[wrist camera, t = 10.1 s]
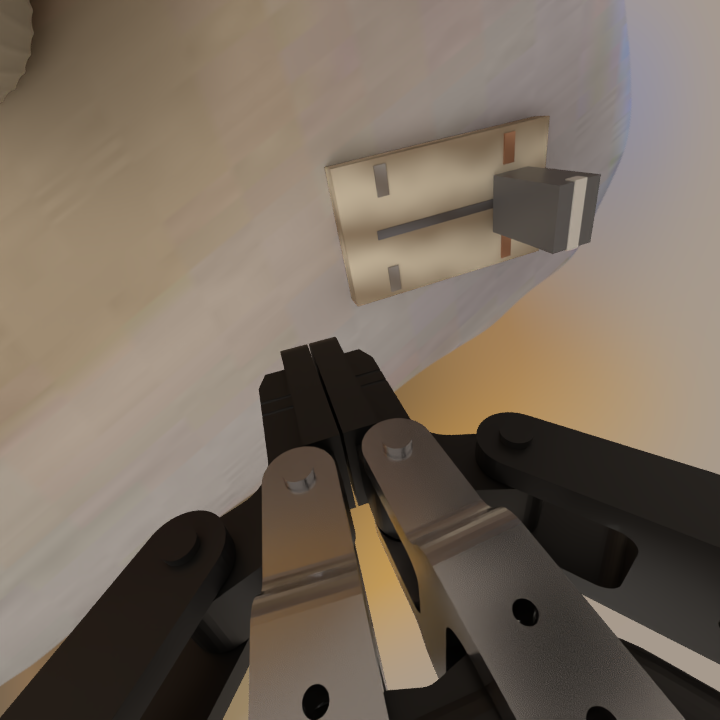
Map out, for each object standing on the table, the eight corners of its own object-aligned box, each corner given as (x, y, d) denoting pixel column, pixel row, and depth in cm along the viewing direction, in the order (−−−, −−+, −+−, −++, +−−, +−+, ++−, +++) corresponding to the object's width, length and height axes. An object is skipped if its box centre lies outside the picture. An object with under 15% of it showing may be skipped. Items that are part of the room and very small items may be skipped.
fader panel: (324, 167, 32) (330, 169, 30) (533, 116, 35) (551, 115, 33) (351, 299, 38) (358, 307, 36) (525, 245, 42) (539, 251, 40)
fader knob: (493, 174, 34) (561, 184, 27) (527, 165, 34) (602, 173, 28) (492, 233, 37) (553, 255, 30) (524, 223, 37) (591, 243, 31)
